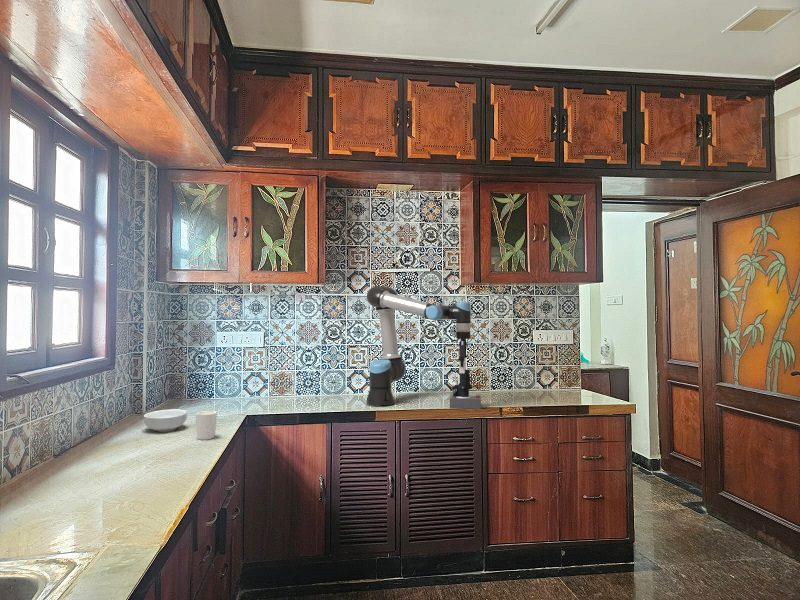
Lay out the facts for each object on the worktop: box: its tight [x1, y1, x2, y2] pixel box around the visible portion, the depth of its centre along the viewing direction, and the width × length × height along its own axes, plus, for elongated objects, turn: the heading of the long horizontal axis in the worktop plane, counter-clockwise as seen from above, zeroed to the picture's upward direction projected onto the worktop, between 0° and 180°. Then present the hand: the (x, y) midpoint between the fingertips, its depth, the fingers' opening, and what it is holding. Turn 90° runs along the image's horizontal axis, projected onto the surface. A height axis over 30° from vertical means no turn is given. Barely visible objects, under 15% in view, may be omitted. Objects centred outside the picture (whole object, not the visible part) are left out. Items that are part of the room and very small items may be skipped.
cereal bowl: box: [143, 408, 188, 433], centre depth 212 cm, size 17×17×7 cm
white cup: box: [195, 410, 218, 441], centre depth 199 cm, size 8×8×10 cm
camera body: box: [449, 394, 482, 410], centre depth 260 cm, size 16×8×6 cm, turn 79°
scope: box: [451, 369, 473, 397], centre depth 260 cm, size 8×14×10 cm
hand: (462, 371), depth 260 cm, fingers open, 13 cm apart
